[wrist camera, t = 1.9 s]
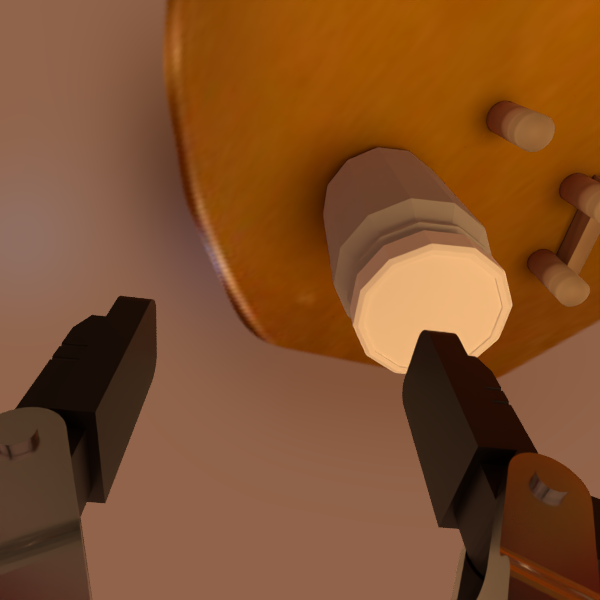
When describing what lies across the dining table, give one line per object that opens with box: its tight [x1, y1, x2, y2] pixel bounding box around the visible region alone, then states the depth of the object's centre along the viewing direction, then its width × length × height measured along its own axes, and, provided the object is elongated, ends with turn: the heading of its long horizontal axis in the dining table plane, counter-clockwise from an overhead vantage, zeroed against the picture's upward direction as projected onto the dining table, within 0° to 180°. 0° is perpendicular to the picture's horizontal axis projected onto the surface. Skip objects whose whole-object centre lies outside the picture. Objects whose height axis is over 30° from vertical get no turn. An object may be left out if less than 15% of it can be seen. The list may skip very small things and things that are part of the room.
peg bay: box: [487, 101, 600, 307], centre depth 39 cm, size 12×18×6 cm, turn 172°
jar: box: [323, 147, 512, 374], centre depth 32 cm, size 10×10×18 cm
